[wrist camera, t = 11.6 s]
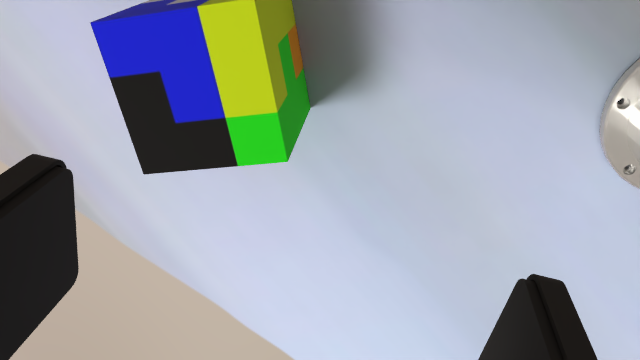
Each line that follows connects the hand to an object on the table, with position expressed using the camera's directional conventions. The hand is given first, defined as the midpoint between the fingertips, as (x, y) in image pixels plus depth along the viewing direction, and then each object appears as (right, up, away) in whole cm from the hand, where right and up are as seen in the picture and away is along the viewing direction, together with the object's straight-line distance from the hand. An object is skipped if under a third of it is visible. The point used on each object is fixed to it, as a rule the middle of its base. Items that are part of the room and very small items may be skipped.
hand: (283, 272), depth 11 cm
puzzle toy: (-6, +12, +29) cm, 32 cm away
